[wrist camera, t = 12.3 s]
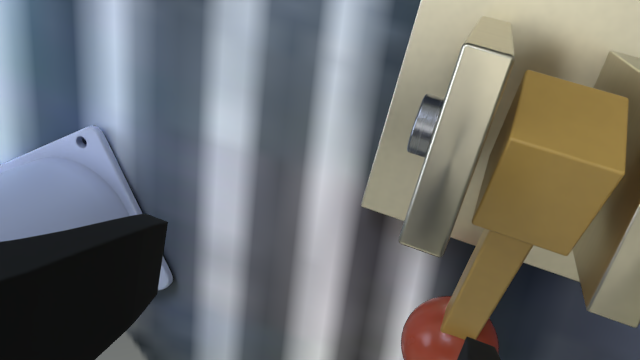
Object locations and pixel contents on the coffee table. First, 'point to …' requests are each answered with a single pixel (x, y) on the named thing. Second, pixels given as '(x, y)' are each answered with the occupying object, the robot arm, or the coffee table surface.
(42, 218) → the robot arm
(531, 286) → the coffee table surface
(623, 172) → the lever
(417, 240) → the tap bracket
